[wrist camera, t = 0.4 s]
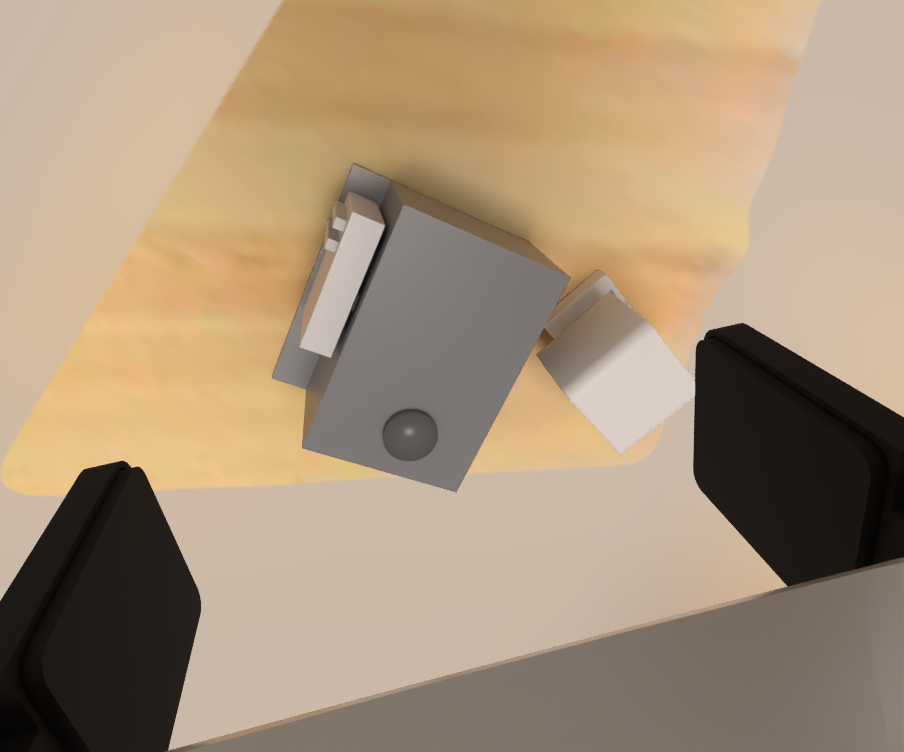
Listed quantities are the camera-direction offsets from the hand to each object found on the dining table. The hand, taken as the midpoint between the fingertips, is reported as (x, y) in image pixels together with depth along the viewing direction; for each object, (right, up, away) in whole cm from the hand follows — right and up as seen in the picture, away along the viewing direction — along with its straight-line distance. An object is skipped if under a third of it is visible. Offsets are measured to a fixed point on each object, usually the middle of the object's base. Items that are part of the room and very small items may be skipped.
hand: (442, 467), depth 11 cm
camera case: (-3, +6, +32) cm, 32 cm away
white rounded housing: (+9, +5, +35) cm, 36 cm away
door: (-7, +9, +29) cm, 31 cm away
